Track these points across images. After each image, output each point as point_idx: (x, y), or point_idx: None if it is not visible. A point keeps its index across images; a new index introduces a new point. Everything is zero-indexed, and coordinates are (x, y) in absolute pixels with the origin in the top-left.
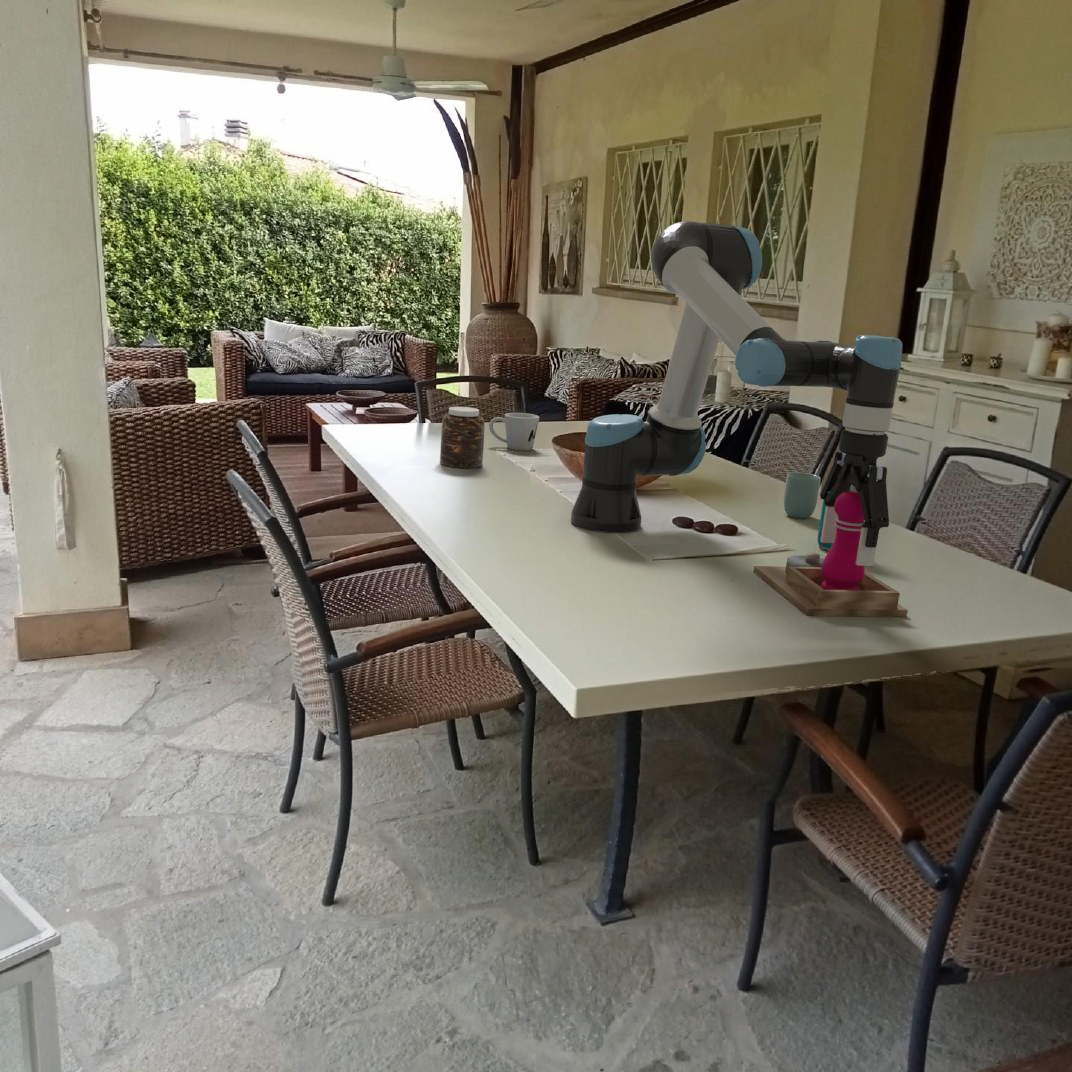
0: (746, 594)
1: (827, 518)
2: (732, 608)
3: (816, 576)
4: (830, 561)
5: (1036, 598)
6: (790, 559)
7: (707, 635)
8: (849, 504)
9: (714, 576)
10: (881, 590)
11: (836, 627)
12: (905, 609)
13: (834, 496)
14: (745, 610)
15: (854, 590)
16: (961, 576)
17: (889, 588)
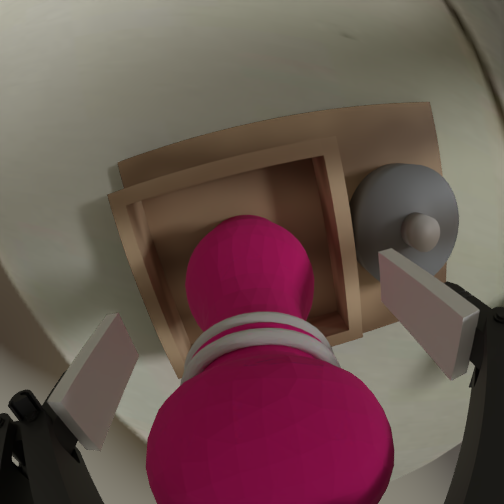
0: (243, 43)
1: (429, 298)
2: (134, 18)
3: (329, 220)
4: (215, 247)
5: None
6: (427, 176)
7: (15, 18)
8: (151, 463)
9: (360, 10)
10: None
11: (75, 217)
12: None
13: (482, 384)
14: (126, 40)
15: (150, 286)
16: (414, 439)
17: None
